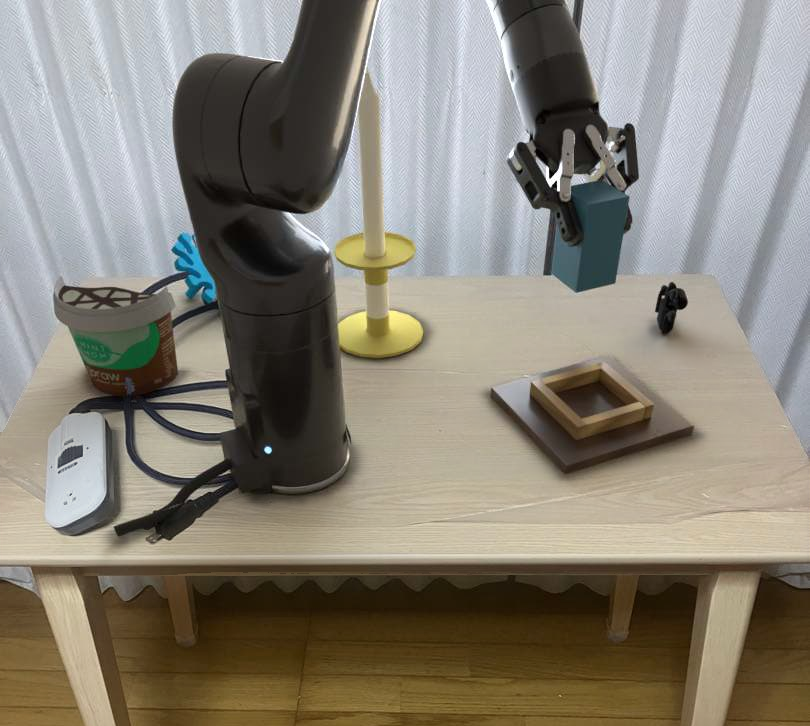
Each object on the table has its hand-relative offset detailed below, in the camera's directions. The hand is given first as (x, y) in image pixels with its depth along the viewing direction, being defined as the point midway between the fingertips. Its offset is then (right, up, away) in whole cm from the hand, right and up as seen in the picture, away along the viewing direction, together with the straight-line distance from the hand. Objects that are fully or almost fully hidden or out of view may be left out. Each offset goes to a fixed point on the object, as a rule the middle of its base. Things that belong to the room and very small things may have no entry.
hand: (600, 237), depth 85 cm
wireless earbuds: (+10, -7, +10) cm, 16 cm away
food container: (-48, -14, +4) cm, 50 cm away
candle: (-22, -7, +11) cm, 26 cm away
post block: (-1, -3, +5) cm, 6 cm away
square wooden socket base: (-1, -18, -1) cm, 18 cm away
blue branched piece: (-41, -1, +17) cm, 45 cm away
